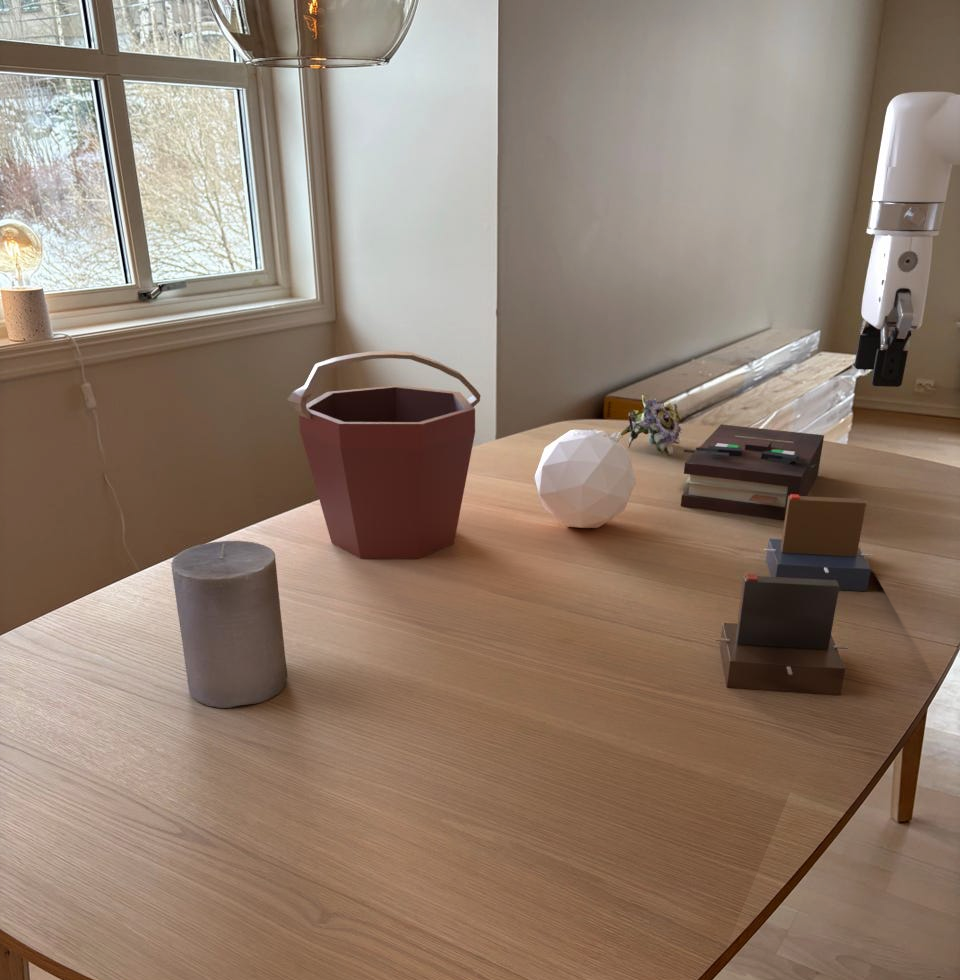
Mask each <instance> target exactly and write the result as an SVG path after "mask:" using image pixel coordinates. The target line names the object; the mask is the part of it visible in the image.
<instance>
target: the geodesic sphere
mask: <svg viewBox="0 0 960 980" xmlns="http://www.w3.org/2000/svg"><path fill="white" fill-rule="evenodd" d="M619 436H620V437H619ZM622 438H624V435H622V436H621V431H619V432H618V430H616V431H614V432H613V433H612V432H611V434H608V433H607V432H606V431H605V430H597V429H595V428H593V429H571V430H569V431H567V432H565V434H563V435H561V436H559V437H558V438H557V439H556V440H554V441H553V442H551V443H550V444H548V445H547V446H545V447H544V450H543V453H542V455H541V458H540V460H539V463H538V466H537V469H536V472H535V474H534V481H535V485H536V489H537V492H538V495H539V499H540V502H541V503H540V504H541V507H542V508H543V509H545V510H546V511H547V512H548V513H550V514H551V515H552V516H553V517H554V518H556V519H557V520H558V521H559V522H561V523H562V524H563V526H566V527H570V528H580V529H591V528H592V529H598V528H600V527H601V526H603V525H605V524H606V523H608V522H610V521H611V520H613V519H614V518H616V517H617V516H619V515H621V514H622V513H623V512H625V510H626V507H627V505H628V503H629V500H630V498H631V495H632V492H633V491H634V487H635V485H636V482H637V479H636V476H635V472H634V468H633V464H632V459H631V456H630V452H629V450H628V449H627V448H625V447H624V446H623V445H622V444H621V443H620V441H621V440H622Z"/></svg>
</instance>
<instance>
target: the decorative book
mask: <svg viewBox="0 0 960 980" xmlns="http://www.w3.org/2000/svg"><path fill="white" fill-rule="evenodd" d="M824 439H825V435H824V434H818V433H806V432H799V431H790V430H789V431H787V430H778V429H770V428H769V429H768V428H760V427H750V426H741V425H731V424H730V425H729V424H720V425H719V426H718V427H717V428H716V429H715V430H714V431H713V432H712V433H711V434H710V436H709V437H707V439H706V440H705V441H704V442H703V443H702V444H701V445H700V446H699V447H696V448H695V449H683V451H682V453H686V454H691V456H689V457H688V459H687V460H686V461H684V468H683V474H684V475H688V477H687V478H686V480H684V483H687V484H689V486H688V488H687V489H686V490H685V491H683V493H682V494H681V499H680V507H684V508H685V507H686V508H692V509H699V510H708V511H713V512H714V511H715V512H720V513H721V512H722V513H728V512H729V514H735V513H737V515H744V516H750V515H751V517H758V518H765V519H774V520H781V521H785V514H786V507H787V501H788V496H790V494H799V496H808V497H809V495H810V492H811V491H812V488H813V486H814V483H815V482H816V480H817V478H818V475H819V470H820V465H821V458H822V452H823V444H824Z"/></svg>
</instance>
